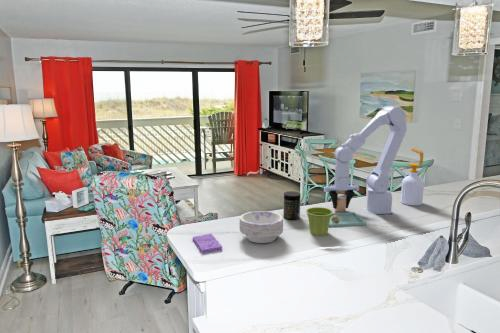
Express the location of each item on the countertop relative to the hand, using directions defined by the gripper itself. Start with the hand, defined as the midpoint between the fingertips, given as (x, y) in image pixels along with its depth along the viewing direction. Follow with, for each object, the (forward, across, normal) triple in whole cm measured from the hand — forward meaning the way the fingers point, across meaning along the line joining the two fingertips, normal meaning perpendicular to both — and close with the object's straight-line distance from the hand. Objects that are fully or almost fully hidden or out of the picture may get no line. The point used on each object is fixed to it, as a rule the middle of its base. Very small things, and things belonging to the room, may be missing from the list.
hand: (340, 207), depth 162 cm
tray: (+2, +4, +11) cm, 12 cm away
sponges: (+3, +56, +26) cm, 62 cm away
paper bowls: (+2, +37, +23) cm, 44 cm away
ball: (+1, +7, +14) cm, 16 cm away
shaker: (+2, 0, 0) cm, 2 cm away
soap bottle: (+2, -36, -8) cm, 37 cm away
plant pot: (+2, +16, +22) cm, 27 cm away
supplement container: (+2, +22, +5) cm, 23 cm away
